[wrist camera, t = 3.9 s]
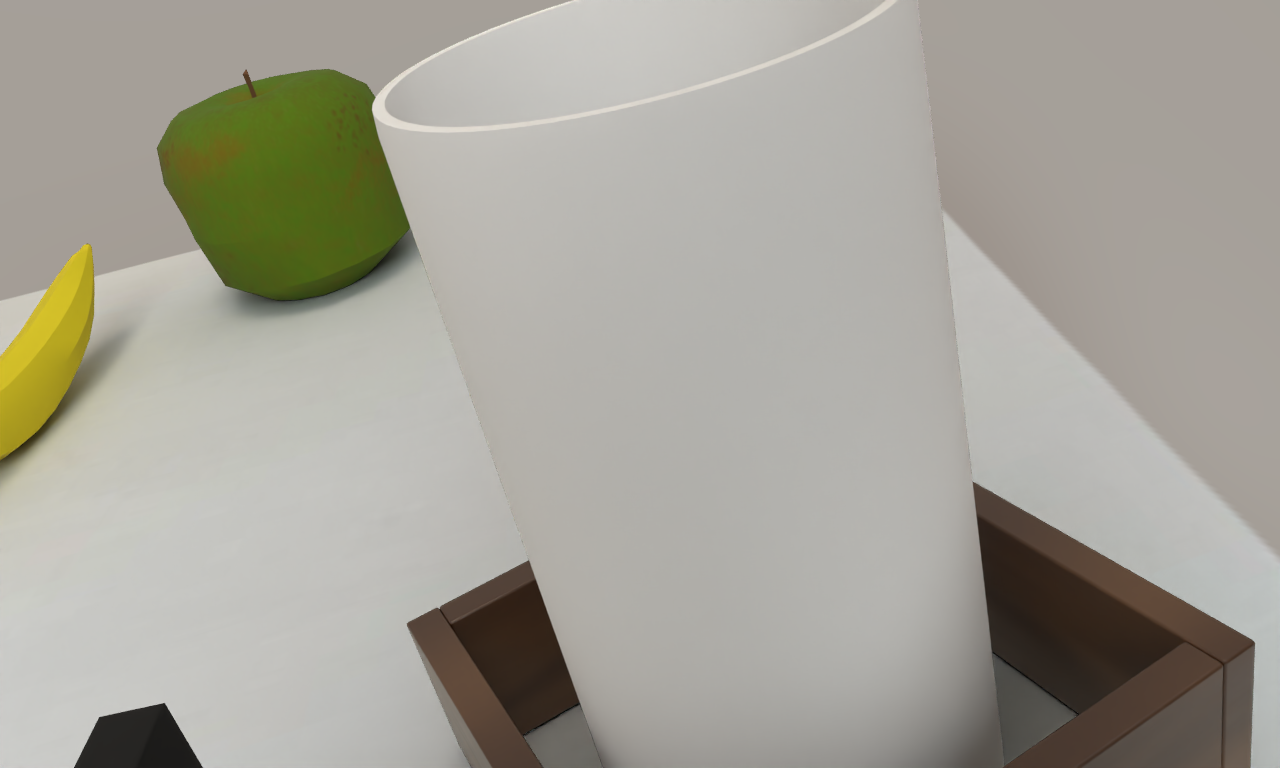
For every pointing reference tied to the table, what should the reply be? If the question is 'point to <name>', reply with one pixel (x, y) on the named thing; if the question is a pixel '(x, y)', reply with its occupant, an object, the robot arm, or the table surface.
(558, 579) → the cup
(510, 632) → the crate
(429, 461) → the table surface
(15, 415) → the banana
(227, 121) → the apple
